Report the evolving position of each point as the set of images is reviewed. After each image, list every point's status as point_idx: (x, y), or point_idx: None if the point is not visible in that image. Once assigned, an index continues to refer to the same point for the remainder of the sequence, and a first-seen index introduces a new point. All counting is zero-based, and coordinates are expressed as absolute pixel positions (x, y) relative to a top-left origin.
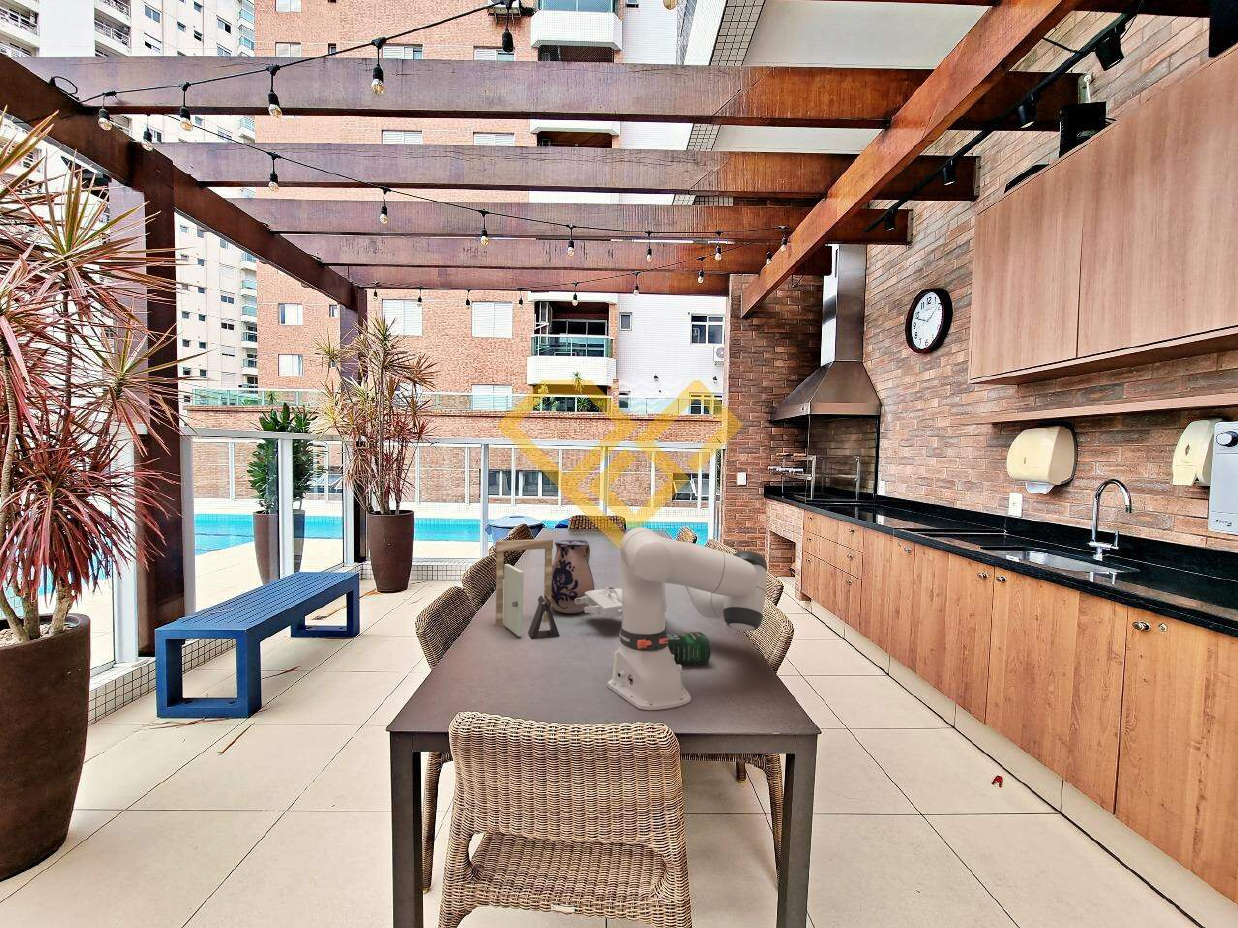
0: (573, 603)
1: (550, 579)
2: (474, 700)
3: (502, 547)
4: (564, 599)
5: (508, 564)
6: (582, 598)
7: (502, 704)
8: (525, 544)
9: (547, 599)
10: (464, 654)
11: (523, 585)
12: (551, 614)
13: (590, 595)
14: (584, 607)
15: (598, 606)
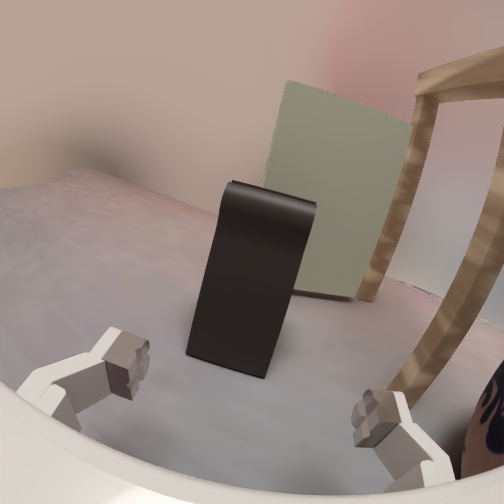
0: (477, 461)
1: (487, 238)
2: (71, 185)
3: (422, 85)
4: (485, 406)
5: (404, 122)
6: (412, 446)
7: (39, 189)
8: (458, 69)
9: (238, 185)
10: (209, 218)
11: (278, 124)
12: (211, 253)
13: (425, 500)
14: (132, 335)
15: (29, 394)
